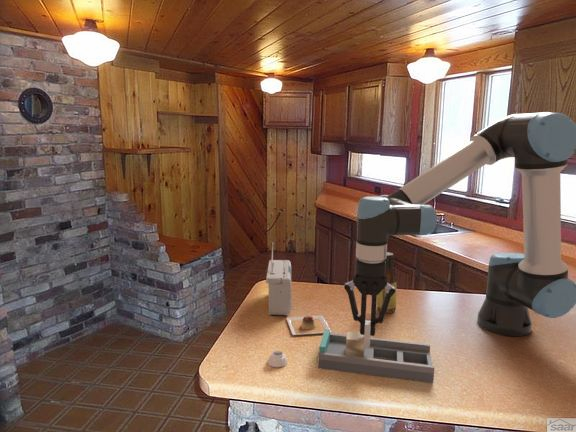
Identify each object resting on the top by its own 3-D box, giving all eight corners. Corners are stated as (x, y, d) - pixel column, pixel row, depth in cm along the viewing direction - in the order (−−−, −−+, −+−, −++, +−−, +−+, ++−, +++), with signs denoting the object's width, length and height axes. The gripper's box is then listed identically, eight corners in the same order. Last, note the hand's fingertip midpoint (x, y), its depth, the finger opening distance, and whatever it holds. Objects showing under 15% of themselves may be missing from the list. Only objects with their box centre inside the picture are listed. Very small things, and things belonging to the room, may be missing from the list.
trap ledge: (428, 357, 115) (430, 338, 114) (433, 382, 104) (434, 362, 103) (325, 345, 121) (325, 327, 120) (318, 368, 110) (318, 348, 109)
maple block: (364, 348, 115) (365, 332, 114) (363, 357, 110) (364, 340, 110) (347, 346, 116) (347, 331, 115) (345, 355, 111) (346, 339, 111)
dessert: (331, 335, 128) (332, 320, 127) (292, 338, 126) (292, 323, 126) (322, 318, 140) (322, 304, 139) (285, 320, 138) (286, 306, 137)
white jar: (276, 356, 116) (263, 364, 112) (276, 346, 115) (263, 353, 111) (291, 363, 113) (278, 370, 109) (291, 352, 112) (278, 360, 108)
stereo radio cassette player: (291, 317, 140) (291, 258, 136) (265, 317, 140) (265, 258, 136) (291, 293, 160) (291, 241, 156) (269, 293, 160) (269, 241, 156)
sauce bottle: (398, 309, 146) (401, 252, 142) (392, 315, 141) (395, 257, 137) (379, 305, 150) (382, 249, 146) (373, 311, 144) (375, 254, 141)
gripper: (397, 256, 110) (392, 342, 114) (346, 253, 112) (343, 336, 117) (398, 265, 102) (392, 356, 107) (343, 261, 105) (340, 350, 110)
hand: (366, 345), depth 112 cm, fingers closed
